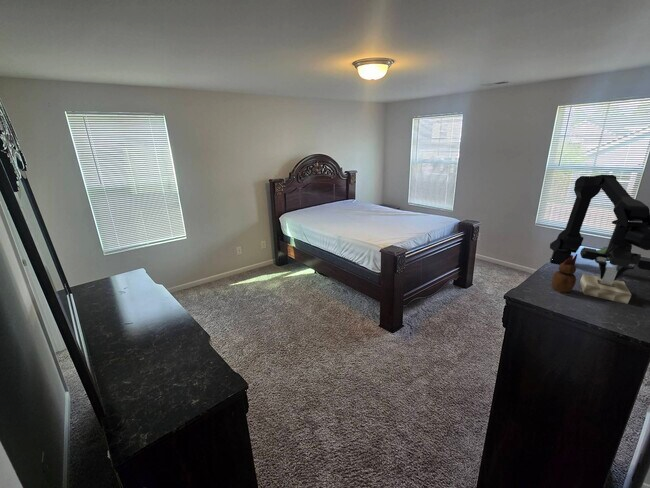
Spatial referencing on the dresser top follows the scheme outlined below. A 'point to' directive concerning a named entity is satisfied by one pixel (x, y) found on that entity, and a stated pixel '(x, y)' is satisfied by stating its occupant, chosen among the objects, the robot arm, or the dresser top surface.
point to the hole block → (605, 289)
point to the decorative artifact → (603, 251)
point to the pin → (608, 276)
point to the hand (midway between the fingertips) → (606, 279)
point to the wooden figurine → (565, 276)
